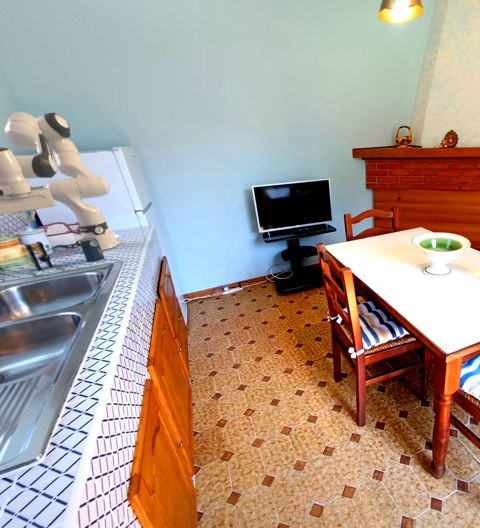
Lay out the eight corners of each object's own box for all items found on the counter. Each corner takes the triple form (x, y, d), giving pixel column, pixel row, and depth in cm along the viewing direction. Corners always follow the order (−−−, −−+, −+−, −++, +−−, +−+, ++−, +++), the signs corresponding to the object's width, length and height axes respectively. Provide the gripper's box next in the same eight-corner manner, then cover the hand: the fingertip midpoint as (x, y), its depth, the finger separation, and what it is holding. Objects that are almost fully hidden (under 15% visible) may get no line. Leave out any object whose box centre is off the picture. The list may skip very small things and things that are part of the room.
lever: (52, 262, 136) (50, 255, 134) (42, 264, 134) (40, 258, 132) (39, 247, 141) (37, 241, 139) (29, 249, 138) (26, 243, 136)
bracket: (62, 269, 143) (49, 242, 138) (37, 276, 136) (22, 248, 131) (54, 265, 149) (42, 239, 144) (29, 272, 142) (15, 244, 137)
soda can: (107, 260, 151) (99, 238, 147) (91, 265, 146) (81, 242, 141) (102, 258, 155) (93, 236, 150) (86, 263, 149) (76, 240, 145)
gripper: (45, 185, 135) (58, 215, 141) (-23, 192, 119) (-5, 226, 125) (50, 185, 132) (63, 216, 137) (-19, 193, 116) (-1, 227, 122)
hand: (30, 221), depth 131 cm, fingers closed
